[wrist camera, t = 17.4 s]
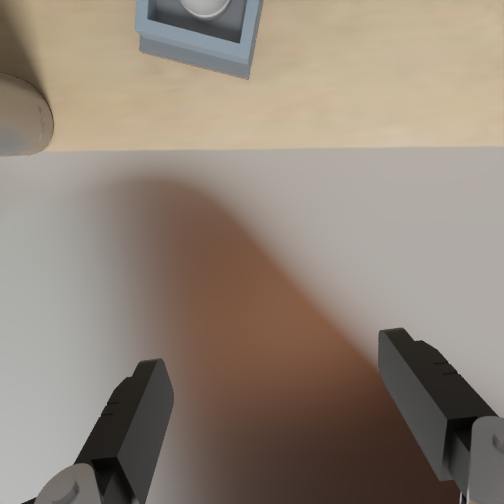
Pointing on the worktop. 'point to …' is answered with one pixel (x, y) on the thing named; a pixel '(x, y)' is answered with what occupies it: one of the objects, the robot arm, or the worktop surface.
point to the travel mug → (206, 8)
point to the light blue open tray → (200, 35)
